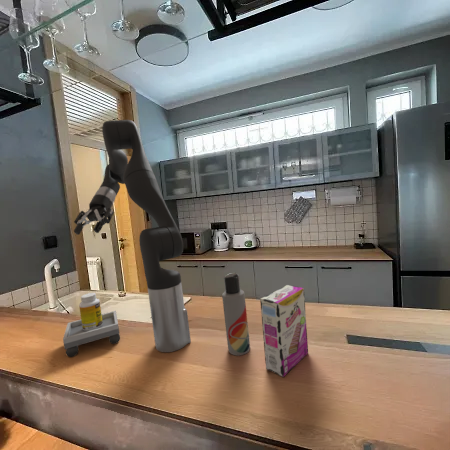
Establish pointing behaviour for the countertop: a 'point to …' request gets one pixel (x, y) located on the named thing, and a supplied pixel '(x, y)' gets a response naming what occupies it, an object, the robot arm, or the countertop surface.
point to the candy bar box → (284, 329)
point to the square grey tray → (90, 333)
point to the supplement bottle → (90, 312)
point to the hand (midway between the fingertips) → (86, 232)
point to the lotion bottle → (235, 316)
